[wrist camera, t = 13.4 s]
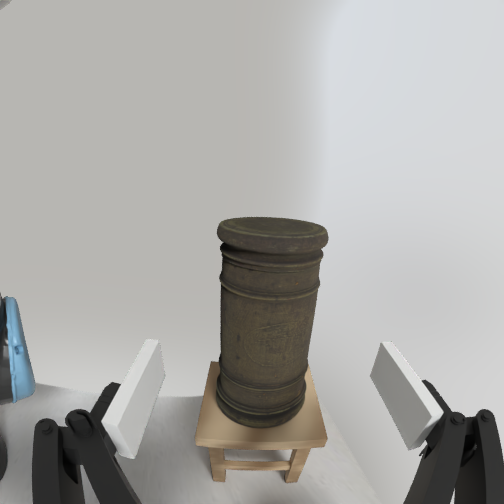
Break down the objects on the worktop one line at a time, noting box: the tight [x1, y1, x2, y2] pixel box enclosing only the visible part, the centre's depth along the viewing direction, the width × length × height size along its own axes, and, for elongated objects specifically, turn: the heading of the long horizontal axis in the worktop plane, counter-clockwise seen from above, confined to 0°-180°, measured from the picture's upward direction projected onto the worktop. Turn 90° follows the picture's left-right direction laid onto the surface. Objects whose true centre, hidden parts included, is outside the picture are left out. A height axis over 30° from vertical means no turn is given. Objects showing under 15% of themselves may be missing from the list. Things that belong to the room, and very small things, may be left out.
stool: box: [195, 361, 328, 483], centre depth 27 cm, size 12×12×12 cm
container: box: [216, 217, 328, 428], centre depth 23 cm, size 9×9×18 cm
